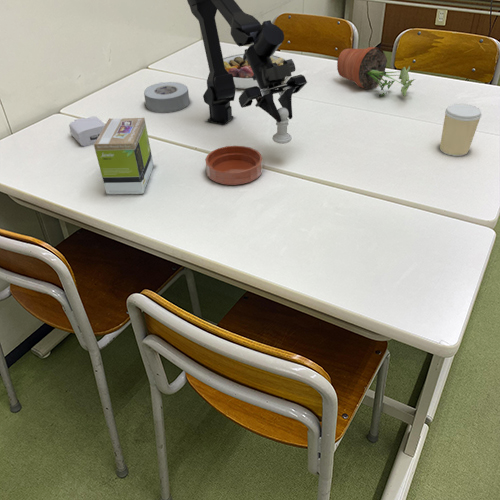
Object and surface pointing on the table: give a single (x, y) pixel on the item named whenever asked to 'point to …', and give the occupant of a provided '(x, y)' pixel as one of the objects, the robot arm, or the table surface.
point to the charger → (86, 130)
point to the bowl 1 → (244, 70)
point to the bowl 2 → (234, 165)
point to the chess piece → (282, 128)
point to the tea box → (124, 155)
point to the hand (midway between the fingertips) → (285, 120)
